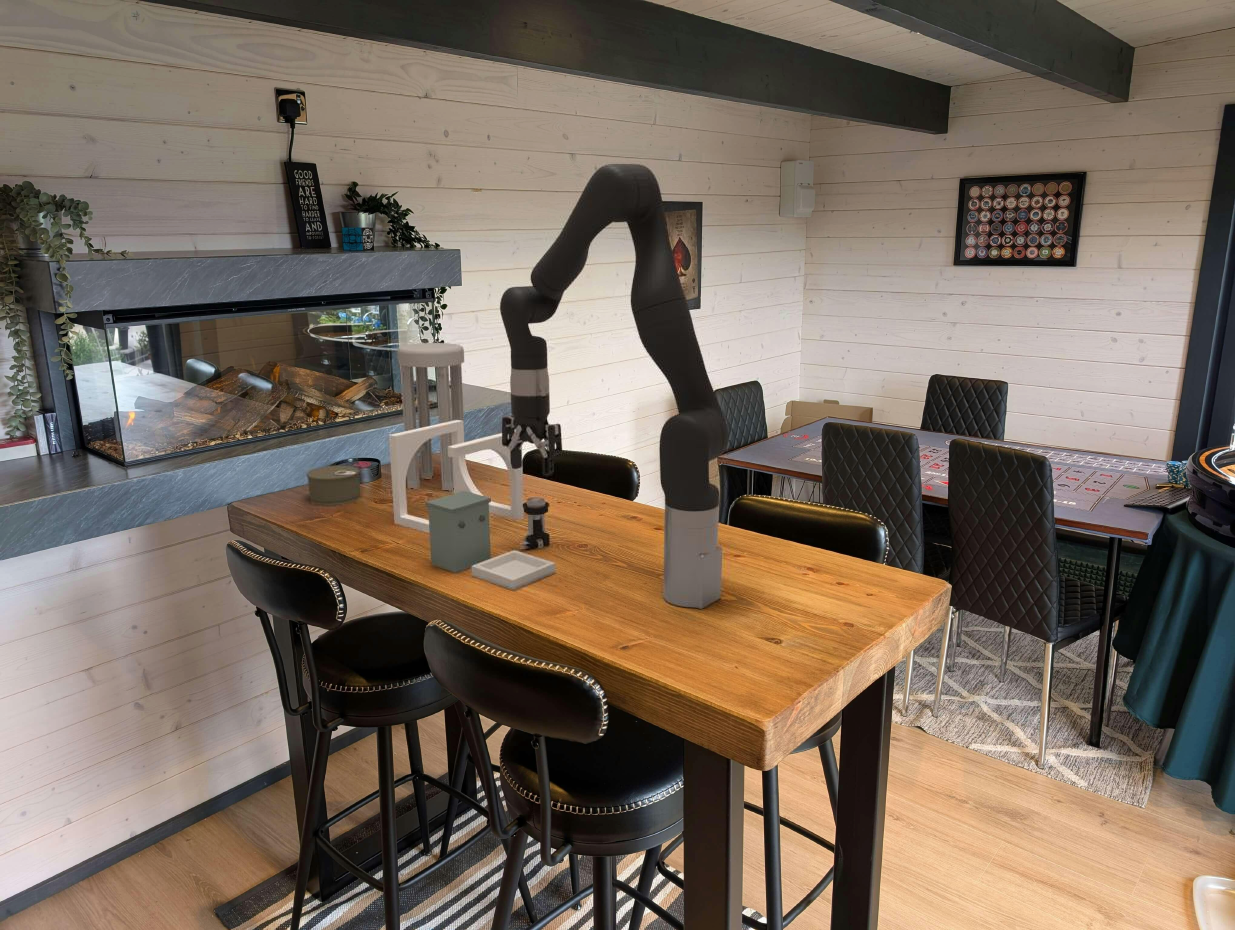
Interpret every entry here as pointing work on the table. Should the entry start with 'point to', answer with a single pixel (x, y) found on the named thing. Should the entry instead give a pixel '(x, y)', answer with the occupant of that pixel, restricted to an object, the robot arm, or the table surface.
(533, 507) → the push button
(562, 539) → the table surface
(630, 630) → the table surface
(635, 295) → the robot arm
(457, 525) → the box
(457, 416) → the stool
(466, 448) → the bookend
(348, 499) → the can
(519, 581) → the tray
